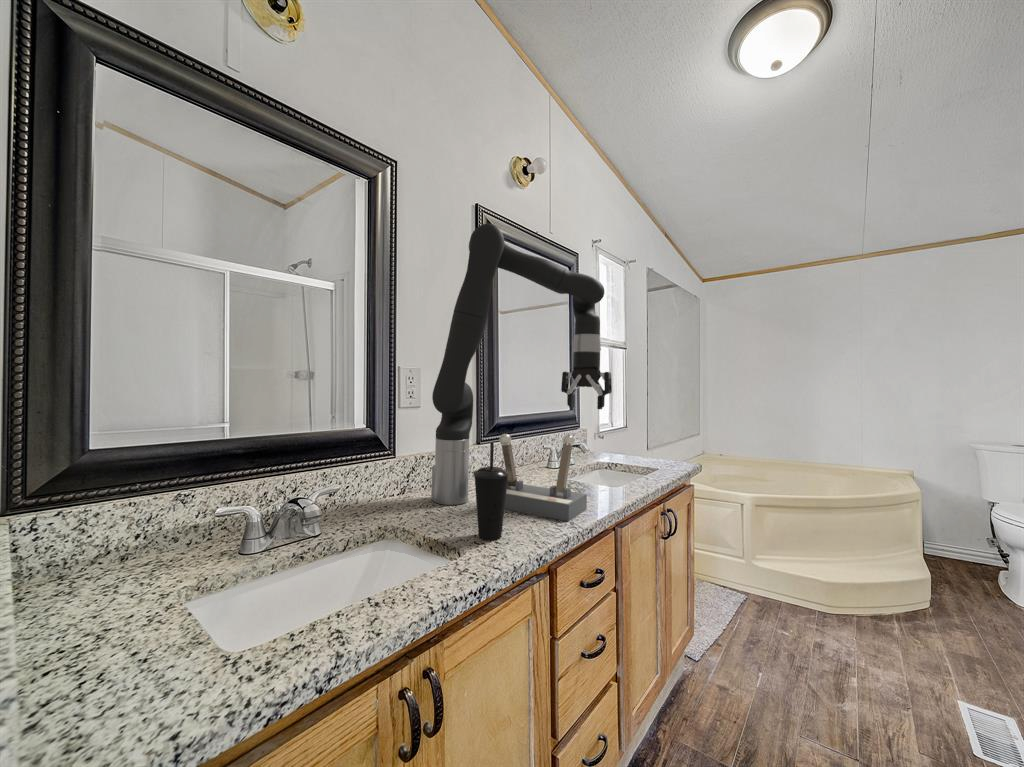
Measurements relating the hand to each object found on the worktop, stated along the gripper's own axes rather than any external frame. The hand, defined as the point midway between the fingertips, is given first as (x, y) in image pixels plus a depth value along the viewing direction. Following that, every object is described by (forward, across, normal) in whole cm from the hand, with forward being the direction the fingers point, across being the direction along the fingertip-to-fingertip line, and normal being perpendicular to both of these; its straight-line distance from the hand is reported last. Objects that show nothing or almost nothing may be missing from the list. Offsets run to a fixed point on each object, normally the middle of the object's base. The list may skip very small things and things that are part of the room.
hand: (585, 408), depth 121 cm
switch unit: (+26, -8, -14) cm, 31 cm away
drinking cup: (+26, -6, -39) cm, 47 cm away
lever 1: (+21, -15, -14) cm, 29 cm away
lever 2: (+21, -1, -14) cm, 25 cm away
